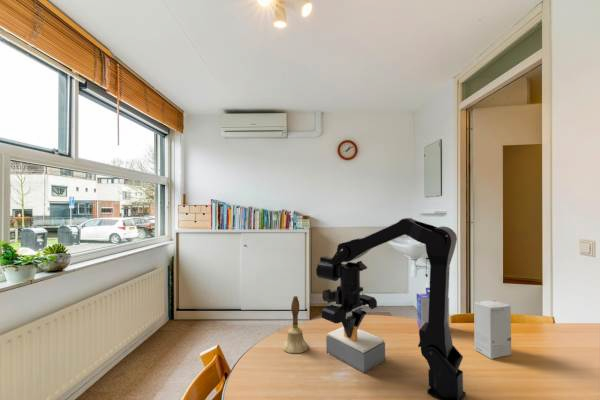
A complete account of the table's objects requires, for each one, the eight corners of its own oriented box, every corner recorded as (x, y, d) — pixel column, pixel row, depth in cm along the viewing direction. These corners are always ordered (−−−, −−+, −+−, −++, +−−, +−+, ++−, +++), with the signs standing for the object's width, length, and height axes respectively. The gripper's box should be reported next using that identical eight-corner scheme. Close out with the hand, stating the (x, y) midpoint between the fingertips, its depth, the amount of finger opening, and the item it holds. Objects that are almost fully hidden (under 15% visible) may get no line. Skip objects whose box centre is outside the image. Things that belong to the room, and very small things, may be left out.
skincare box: (491, 359, 83) (490, 308, 83) (473, 349, 88) (472, 301, 88) (512, 355, 85) (512, 305, 85) (493, 345, 91) (493, 298, 91)
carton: (385, 359, 83) (385, 342, 83) (364, 373, 77) (363, 354, 77) (347, 341, 94) (347, 326, 94) (326, 352, 87) (326, 336, 87)
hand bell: (288, 339, 96) (287, 291, 96) (311, 343, 93) (311, 294, 93) (277, 351, 88) (277, 299, 89) (303, 356, 86) (302, 302, 86)
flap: (384, 341, 83) (383, 325, 83) (363, 353, 77) (363, 336, 77) (347, 326, 93) (347, 312, 94) (327, 335, 87) (327, 320, 87)
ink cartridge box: (443, 326, 105) (443, 286, 105) (450, 333, 99) (450, 291, 99) (416, 325, 106) (415, 286, 106) (421, 332, 100) (421, 291, 100)
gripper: (349, 273, 96) (349, 319, 96) (308, 283, 84) (308, 336, 84) (377, 279, 88) (378, 330, 88) (336, 292, 76) (336, 351, 76)
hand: (350, 336), depth 84 cm, fingers closed on flap
